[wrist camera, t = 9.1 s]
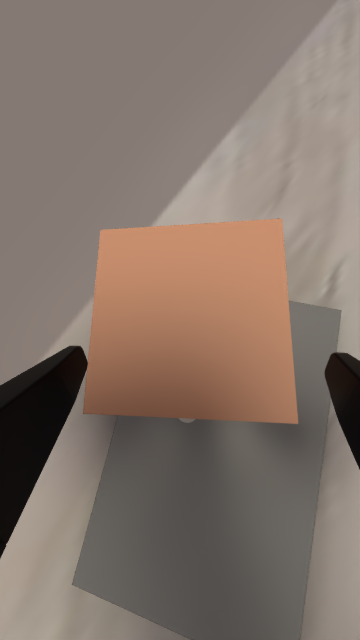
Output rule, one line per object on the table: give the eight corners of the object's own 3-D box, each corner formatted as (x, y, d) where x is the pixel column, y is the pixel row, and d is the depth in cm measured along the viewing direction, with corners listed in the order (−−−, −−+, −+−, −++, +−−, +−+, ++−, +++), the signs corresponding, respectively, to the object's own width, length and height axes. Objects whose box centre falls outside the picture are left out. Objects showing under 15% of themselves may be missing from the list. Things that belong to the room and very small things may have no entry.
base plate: (287, 659, 14) (314, 763, 10) (81, 568, 16) (45, 626, 13) (332, 314, 17) (364, 300, 14) (159, 281, 20) (147, 262, 16)
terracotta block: (234, 382, 16) (297, 423, 4) (171, 380, 17) (82, 413, 5) (232, 319, 17) (282, 218, 5) (173, 320, 18) (100, 230, 6)
